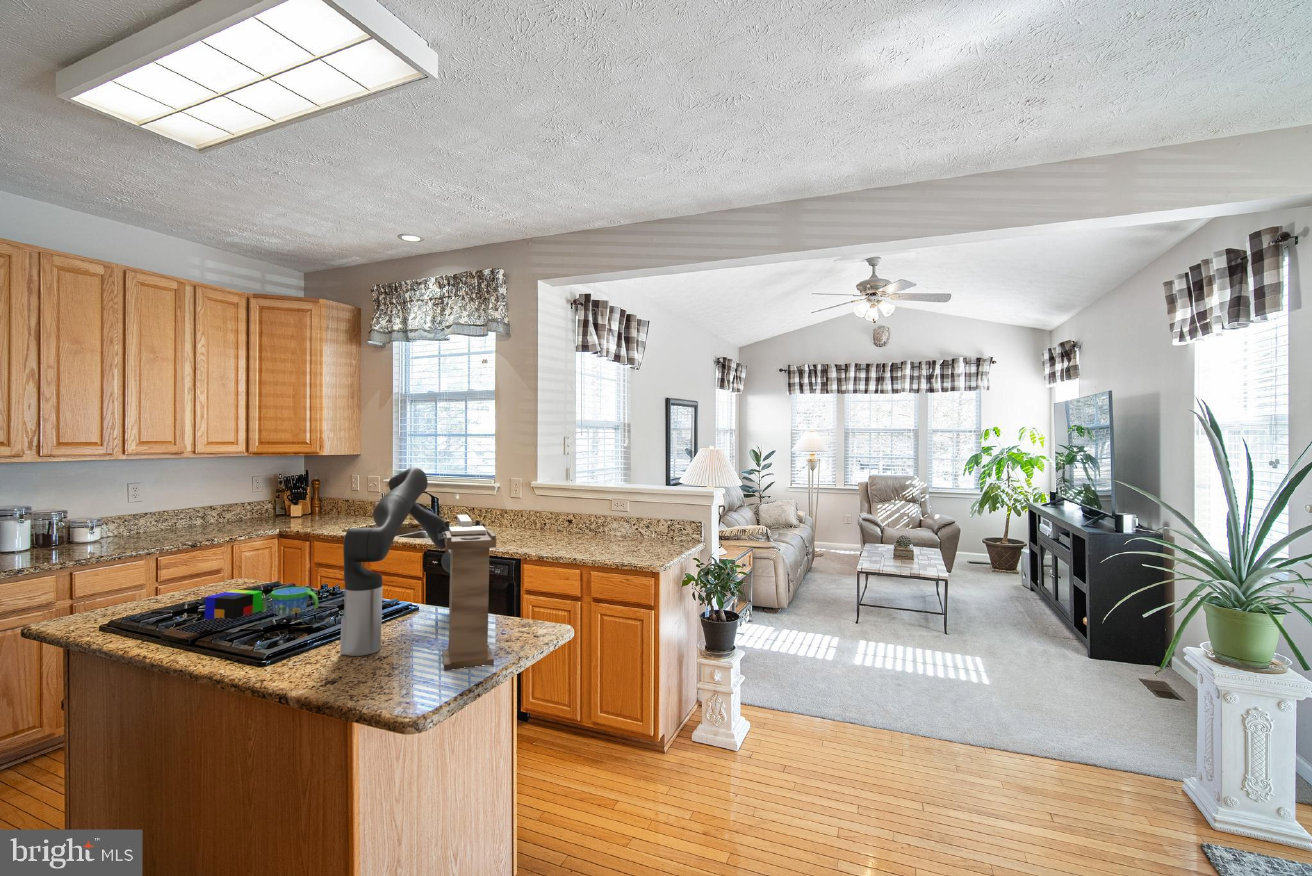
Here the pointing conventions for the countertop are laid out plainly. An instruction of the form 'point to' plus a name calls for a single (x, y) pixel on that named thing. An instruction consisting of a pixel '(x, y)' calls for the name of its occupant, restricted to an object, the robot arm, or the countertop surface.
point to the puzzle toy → (233, 604)
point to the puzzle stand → (468, 600)
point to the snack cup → (289, 600)
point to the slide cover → (466, 527)
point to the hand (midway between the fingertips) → (462, 522)
